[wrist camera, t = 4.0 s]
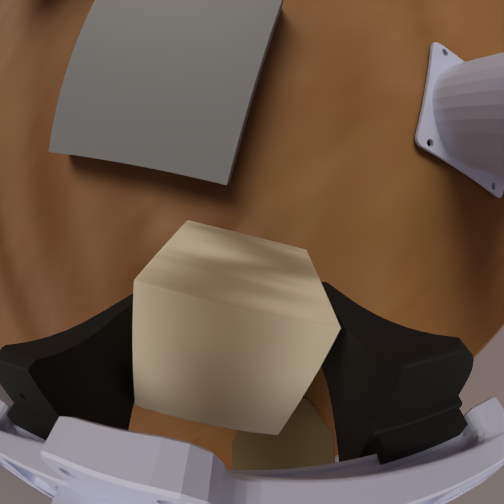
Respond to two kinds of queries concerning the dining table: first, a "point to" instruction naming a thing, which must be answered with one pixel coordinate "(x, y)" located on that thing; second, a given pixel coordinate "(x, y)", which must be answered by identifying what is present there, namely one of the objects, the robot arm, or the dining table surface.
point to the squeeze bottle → (286, 444)
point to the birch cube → (228, 329)
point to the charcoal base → (164, 83)
